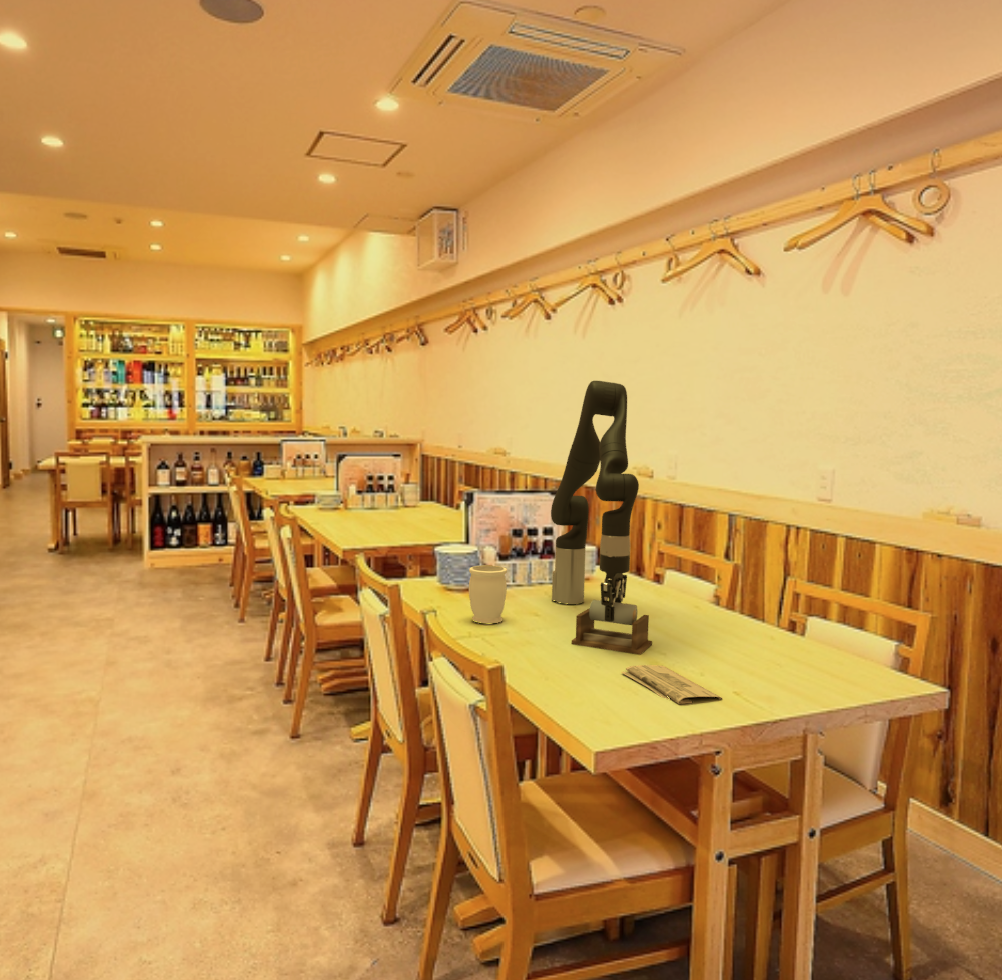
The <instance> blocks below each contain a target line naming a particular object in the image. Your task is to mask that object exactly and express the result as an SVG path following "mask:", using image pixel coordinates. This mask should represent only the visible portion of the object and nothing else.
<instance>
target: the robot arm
mask: <svg viewBox="0 0 1002 980" xmlns="http://www.w3.org/2000/svg"><path fill="white" fill-rule="evenodd" d="M595 415H596V416H597V415H599V416H606V417H613V421H612V424H611V425H610V426H609V427H608V428H607V430H606V431H605V432H604V434H603V435H602V437H601V439H599V436H598V433H597V431H596V429H595V426H594V422H593V421H594V420H593V419H594V416H595ZM627 418H628V391H627V389H626V387H625V385H623V384H621V383H617V382H609V381H603V380H591V381H590V383H588V386H587V388H586V391H585V393H584V398H583V402H582V407H581V411H580V417H579V421H578V425H577V429H576V433H575V436H574V437H573V442H572V444H571V447H570V449H569V453H568V457H567V461H566V464H565V468H564V472H563V475H562V479H561V481H560V483H559V485H558V488H557V491H556V492H555V495H554V498H553V501H552V504H551V508H550V509H551V510H550V517H551V521H552V523H554V524H555V525H556V526H562V527H563V526H571V527H572V528H571V529H570V530H569V531H568V532H566V533H564V534H561V535H559V536H557V538H556V539H555V561H554V563H555V565H554V566H555V567H554V569H555V570H553V571H552V584H551V586H552V587H551V601H552V600H555V601H557V602H561V603H568V604H576V605H578V604H577V603H582V602H585V579H586V578H585V577H586V576H585V575H586V550H587V549H586V543H587V539H588V527H589V526H588V524H589V513H590V509H589V502H588V499H587V497H585V496H584V495H575V493H576V492H577V491H578V490H579V489H581V488H582V487H583V486H584V485H585V484H586V483H587V482H589V481H590V480H591V478H593V477H594V476H595V474H596V473H597V472H598V468H600V469H599V473H598V478H597V481H596V484H595V493H596V496H597V498H598V499H599V500H601V502H602V501H603V502H619V503H621V502H622V504H621V505H620V507H619V508H615V509H612V510H608V511H604V512H603V513H602V516H601V537H600V544H599V549H600V550H599V570H600V571H601V572H602V573H605V578H604V580H603V581H604V582H601V583H600V598H601V599H600V600H601V604H602V605H604V606H605V621H609V622H608V623H610V622H612V621H614V606H615V602H617V603H623V601H624V599H625V598H626V589H627V581H628V575H627V574H626V573H629V571H630V570H631V569H630V565H631V537H630V534H631V518H632V512H633V508H634V505H635V502H636V499H637V496H638V492H639V489H640V485H639V480H638V478H637V477H636V476H635V475H634V474H632V473H625V472H626V471H627V470H628V467H629V458H628V451H627V440H626V438H627V437H626V436H627V434H626V433H627V423H628V422H627ZM599 466H600V467H599ZM557 602H556V603H557ZM582 604H583V603H582Z"/></svg>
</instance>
